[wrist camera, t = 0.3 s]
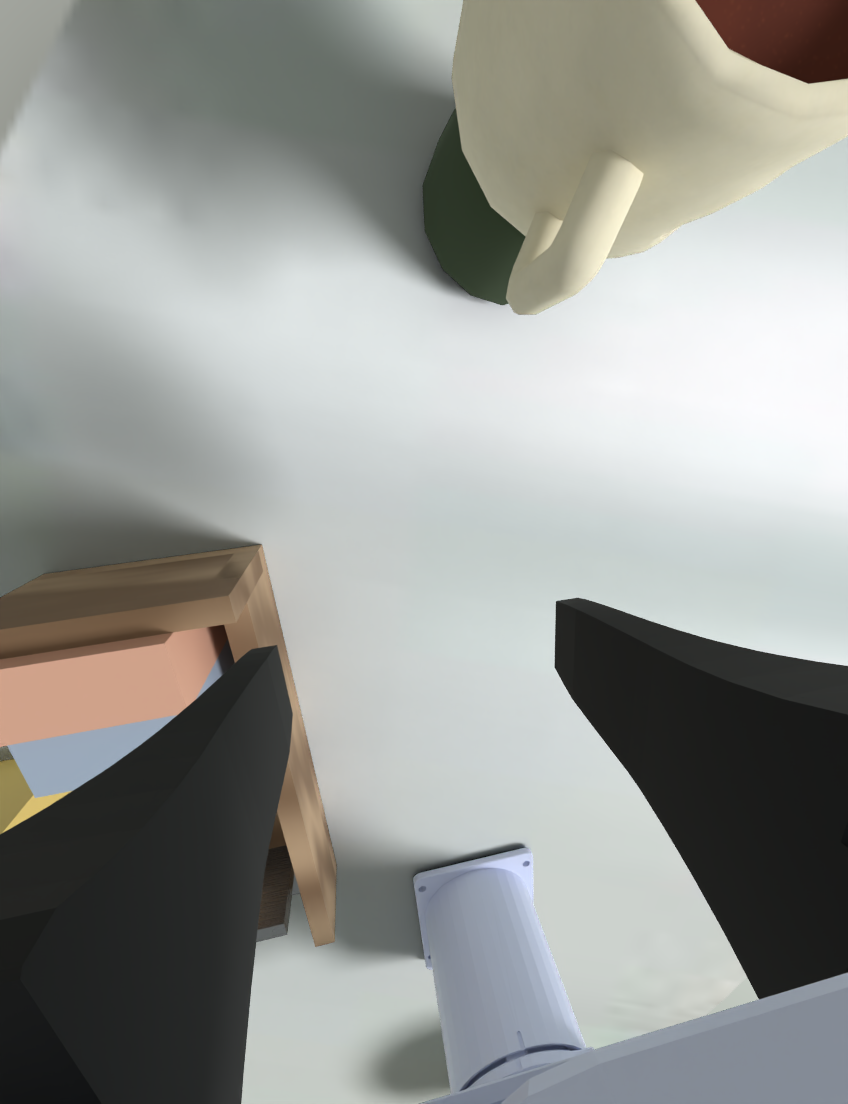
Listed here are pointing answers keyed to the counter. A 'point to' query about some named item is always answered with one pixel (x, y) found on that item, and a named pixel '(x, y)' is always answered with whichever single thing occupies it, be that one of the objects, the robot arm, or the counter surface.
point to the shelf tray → (178, 605)
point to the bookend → (276, 894)
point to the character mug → (619, 129)
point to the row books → (101, 701)
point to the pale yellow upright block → (18, 797)
